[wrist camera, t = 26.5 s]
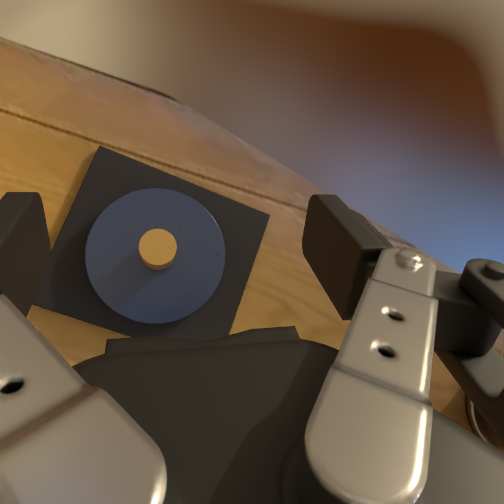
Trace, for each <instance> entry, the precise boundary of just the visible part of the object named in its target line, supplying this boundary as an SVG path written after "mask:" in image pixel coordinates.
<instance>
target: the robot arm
mask: <svg viewBox="0 0 504 504" xmlns="http://www.w3.org/2000/svg"><path fill="white" fill-rule="evenodd" d="M302 249H303V254H304V256H305V258H306V260H307V262H308V263H309V265H310V267H311V268H312V270H313V272H314V273H315V275H316V277H317V278H318V280H319V282H320V283H321V285H322V287H323V288H324V290H325V292H326V293H327V295H328V296H329V298H330V300H331V301H332V303H333V305H334V306H335V308H336V310H337V311H338V313H339V315H340V316H341V318H342V320H351V322H350V325H349V327H348V330H347V332H346V335H345V337H344V340H343V342H342V344H341V347H340V349H339V350H337V349H334V348H332V347H329V346H327V345H324V344H321V343H317V342H314V341H309V340H303V339H300V337H299V335H298V333H297V331H296V328H295V326H289V327H275V328H261V329H251V330H247V331H243V332H240V333H236V334H232V335H229V336H225V337H221V338H217V339H214V340H209V341H199V340H190V339H181V338H172V337H163V336H148V337H134V338H119V339H107V342H106V349H105V354H103V355H100V356H96V357H93V358H91V359H88V360H85V361H83V362H81V363H78V364H76V365H74V366H72V367H71V366H70V365H69V363H68V362H67V361H66V360H65V359H64V358H63V357H62V356H61V355H60V354H59V353H58V352H57V351H56V349H55V348H54V347H53V346H52V345H51V344H50V343H49V342H48V341H47V340H46V339H45V338H44V337H43V335H42V334H41V333H40V332H39V331H38V330H37V329H36V328H35V327H34V326H33V325H32V324H31V323H30V321H29V320H28V319H27V318H26V317H27V314H28V312H29V310H30V307H31V305H32V303H33V300H34V298H35V296H36V293H37V291H38V289H39V286H40V284H41V282H42V279H43V277H44V274H45V272H46V270H47V267H48V265H49V262H50V256H51V247H50V240H49V234H48V229H47V224H46V219H45V214H44V208H43V203H42V199H41V196H40V195H39V193H38V192H7V193H6V194H5V195H4V196H3V197H2V199H1V200H0V504H504V453H503V452H504V358H503V356H502V355H501V354H500V353H499V352H498V351H497V350H496V349H495V348H494V347H493V345H494V343H495V341H496V339H497V337H498V335H499V333H500V332H501V330H502V328H503V329H504V264H502V263H499V262H496V261H492V260H488V259H471V260H469V261H468V262H467V263H466V266H465V268H464V270H463V273H462V274H456V273H449V272H443V271H436V264H435V262H434V261H433V260H432V259H431V258H430V257H428V256H427V255H425V254H423V253H421V252H419V251H417V250H414V249H410V248H406V247H398V246H393V245H392V244H391V243H390V242H389V241H388V240H387V239H386V238H385V237H384V236H383V235H382V234H381V233H380V232H378V230H377V229H376V228H375V227H374V226H373V225H371V223H370V222H369V221H368V220H367V219H366V218H365V217H364V216H362V215H360V214H359V213H357V212H355V211H353V210H351V209H349V208H348V207H347V206H346V205H345V204H344V203H343V202H342V201H341V199H340V198H339V197H337V196H336V195H312V196H311V198H310V200H309V204H308V210H307V215H306V221H305V227H304V232H303V238H302ZM433 350H434V351H435V353H436V354H437V355H438V357H439V358H440V359H441V361H442V362H443V363H444V365H445V366H446V368H447V369H448V370H449V372H450V373H451V374H452V376H453V377H454V378H455V380H456V381H457V382H458V384H459V385H460V387H461V388H462V389H463V391H464V392H465V393H466V395H467V399H466V407H467V414H468V418H469V422H470V424H471V427H472V429H473V430H474V432H475V434H476V435H477V436H476V435H475V434H473V433H471V432H470V431H468V430H467V429H465V428H463V427H462V426H460V425H459V424H457V423H455V422H454V421H452V420H451V419H449V418H447V417H446V416H444V415H443V414H441V413H439V412H438V411H436V410H435V409H433V408H432V404H431V403H430V402H429V390H430V380H431V370H432V360H433Z"/></svg>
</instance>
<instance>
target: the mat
mask: <svg viewBox="0 0 504 504" xmlns="http://www.w3.org/2000/svg"><path fill="white" fill-rule="evenodd" d="M147 188H163V189H170V190H174V191H177V192H180V193H183V194H185V195H187V196H189V197H191V198H193V199H194V200H196V201H197V202H199V203H200V204H201V205H202V206H203V207H205V208H206V209H207V211H208V212H209V213H210V214H211V215H212V217H213V218H214V219H215V221H216V223H217V225H218V226H219V228H220V231H221V234H222V236H223V240H224V245H225V266H224V272H223V275H222V278H221V281H220V283H219V285H218V287H217V289H216V290H215V292H214V294H213V295H212V296H211V298H210V299H209V300H208V301H207V302H206V303H205V304H204V305H203V306H202V307H201V308H199V309H198V310H197V311H195V312H194V313H192V314H190V315H189V316H187V317H185V318H182V319H180V320H177V321H173V322H169V323H161V324H148V323H141V322H137V321H133V320H130V319H128V318H126V317H123V316H121V315H120V314H118V313H116V312H115V311H113V310H112V309H111V308H109V307H108V306H107V305H106V304H105V303H104V302H103V301H102V300H101V299H100V298H99V296H98V295H97V293H96V292H95V291H94V289H93V287H92V285H91V283H90V280H89V278H88V275H87V271H86V266H85V246H86V242H87V237H88V235H89V232H90V229H91V227H92V225H93V224H94V222H95V220H96V219H97V217H98V216H99V215H100V213H101V212H102V211H103V210H104V209H105V208H106V207H107V206H108V205H109V204H111V203H112V202H113V201H115V200H116V199H118V198H120V197H121V196H123V195H125V194H128V193H130V192H133V191H137V190H141V189H147ZM269 217H270V215H268V214H266V213H263V212H261V211H259V210H256V209H254V208H251V207H249V206H246V205H244V204H241V203H239V202H237V201H234V200H232V199H229V198H227V197H224V196H222V195H219V194H217V193H215V192H212V191H210V190H207V189H205V188H202V187H200V186H197V185H195V184H193V183H190V182H188V181H185V180H183V179H180V178H178V177H176V176H173V175H171V174H168V173H166V172H163V171H161V170H158V169H156V168H154V167H151V166H149V165H146V164H144V163H141V162H139V161H136V160H134V159H132V158H129V157H127V156H124V155H122V154H119V153H117V152H114V151H112V150H110V149H107V148H105V147H102V146H99V148H98V150H97V152H96V154H95V157H94V159H93V161H92V163H91V165H90V168H89V170H88V172H87V174H86V176H85V179H84V181H83V183H82V185H81V187H80V190H79V192H78V194H77V196H76V198H75V201H74V203H73V205H72V207H71V209H70V212H69V214H68V216H67V218H66V220H65V223H64V225H63V227H62V229H61V231H60V234H59V236H58V238H57V240H56V242H55V245H54V247H53V249H52V251H51V256H50V262H49V265H48V267H47V270H46V272H45V274H44V277H43V279H42V282H41V284H40V286H39V289H38V291H37V293H36V296H35V298H34V300H33V303H32V304H34V305H37V306H40V307H43V308H46V309H49V310H52V311H55V312H58V313H61V314H64V315H67V316H70V317H73V318H76V319H79V320H82V321H85V322H88V323H91V324H94V325H97V326H100V327H103V328H107V329H110V330H113V331H116V332H119V333H122V334H125V335H128V336H131V337H148V336H163V337H172V338H181V339H190V340H199V341H209V340H214V339H217V338H221V337H225V336H228V335H229V332H230V330H231V327H232V324H233V321H234V318H235V315H236V312H237V309H238V306H239V304H240V301H241V298H242V295H243V292H244V289H245V286H246V283H247V281H248V278H249V275H250V272H251V269H252V266H253V263H254V260H255V257H256V255H257V252H258V249H259V246H260V243H261V240H262V237H263V234H264V232H265V229H266V226H267V223H268V220H269Z"/></svg>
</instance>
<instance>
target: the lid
mask: <svg viewBox="0 0 504 504" xmlns="http://www.w3.org/2000/svg"><path fill="white" fill-rule="evenodd" d="M85 266H86V271H87V275H88V278H89V280H90V283H91V285H92V287H93V289H94V291H95V292H96V293H97V295H98V296H99V298H100V299H101V300H102V301H103V302H104V303H105V304H106V305H107V306H108V307H109V308H111V309H112V310H113V311H115V312H116V313H118V314H120V315H121V316H123V317H126V318H128V319H130V320H133V321H137V322H141V323H148V324H161V323H169V322H173V321H177V320H180V319H182V318H185V317H187V316H189V315H190V314H192V313H194V312H195V311H197V310H198V309H199V308H201V307H202V306H203V305H204V304H205V303H206V302H207V301H208V300H209V299H210V298H211V296H212V295H213V294H214V292H215V290H216V289H217V287H218V285H219V283H220V281H221V278H222V275H223V272H224V266H225V245H224V240H223V236H222V234H221V231H220V228H219V226H218V225H217V223H216V221H215V219H214V218H213V217H212V215H211V214H210V213H209V212H208V211H207V209H206V208H205V207H203V206H202V205H201V204H200V203H199V202H197V201H196V200H194V199H193V198H191V197H189V196H187V195H185V194H183V193H180V192H177V191H174V190H170V189H163V188H147V189H141V190H137V191H133V192H130V193H128V194H125V195H123V196H121V197H120V198H118V199H116V200H115V201H113V202H112V203H111V204H109V205H108V206H107V207H106V208H105V209H104V210H103V211H102V212H101V213H100V215H99V216H98V217H97V219H96V220H95V222H94V224H93V225H92V227H91V229H90V232H89V235H88V237H87V242H86V246H85Z"/></svg>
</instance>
